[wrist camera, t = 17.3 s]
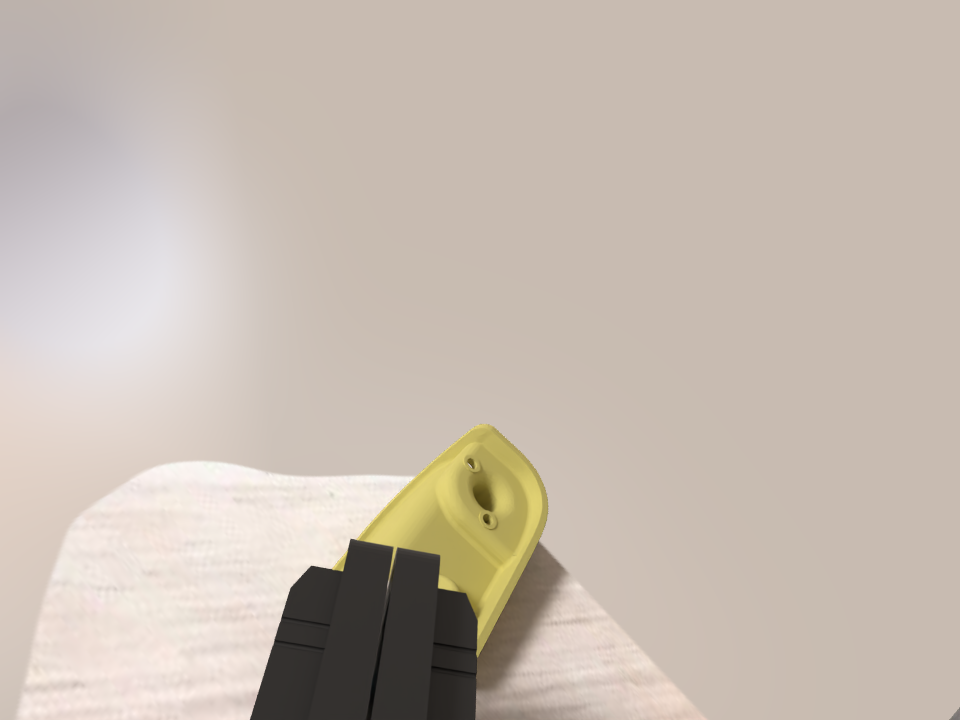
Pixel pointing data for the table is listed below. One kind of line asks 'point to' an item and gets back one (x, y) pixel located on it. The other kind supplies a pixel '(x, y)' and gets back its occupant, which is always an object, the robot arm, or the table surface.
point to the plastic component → (470, 520)
